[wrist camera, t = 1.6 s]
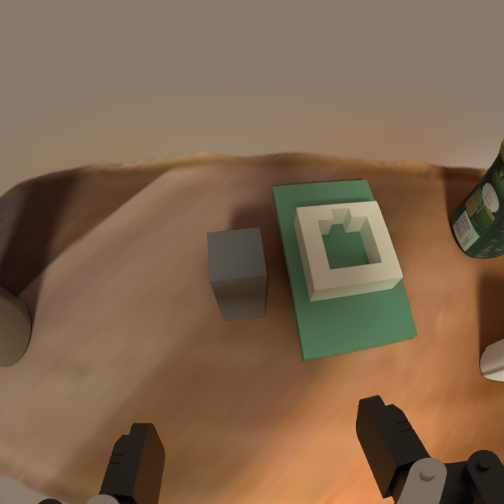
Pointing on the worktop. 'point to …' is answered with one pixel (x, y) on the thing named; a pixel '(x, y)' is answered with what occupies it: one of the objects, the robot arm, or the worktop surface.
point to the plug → (238, 272)
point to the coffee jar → (483, 215)
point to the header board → (340, 254)
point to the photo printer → (493, 361)
